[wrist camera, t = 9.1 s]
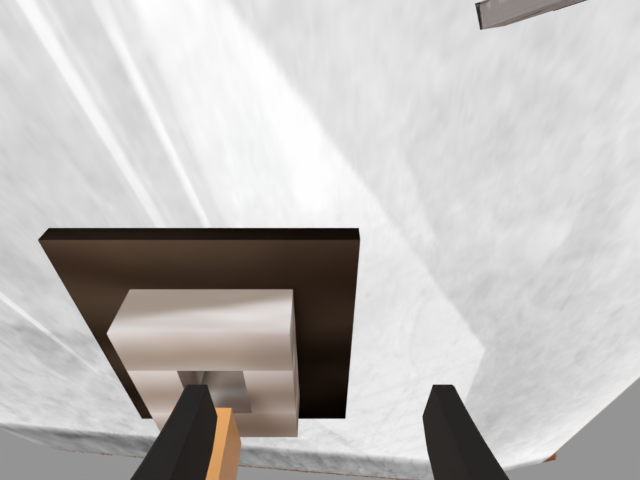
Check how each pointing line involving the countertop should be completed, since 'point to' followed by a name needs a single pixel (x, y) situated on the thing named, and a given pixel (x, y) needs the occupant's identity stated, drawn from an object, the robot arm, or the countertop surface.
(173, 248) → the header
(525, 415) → the countertop surface
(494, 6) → the electrical switch
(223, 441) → the plug
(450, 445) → the robot arm
